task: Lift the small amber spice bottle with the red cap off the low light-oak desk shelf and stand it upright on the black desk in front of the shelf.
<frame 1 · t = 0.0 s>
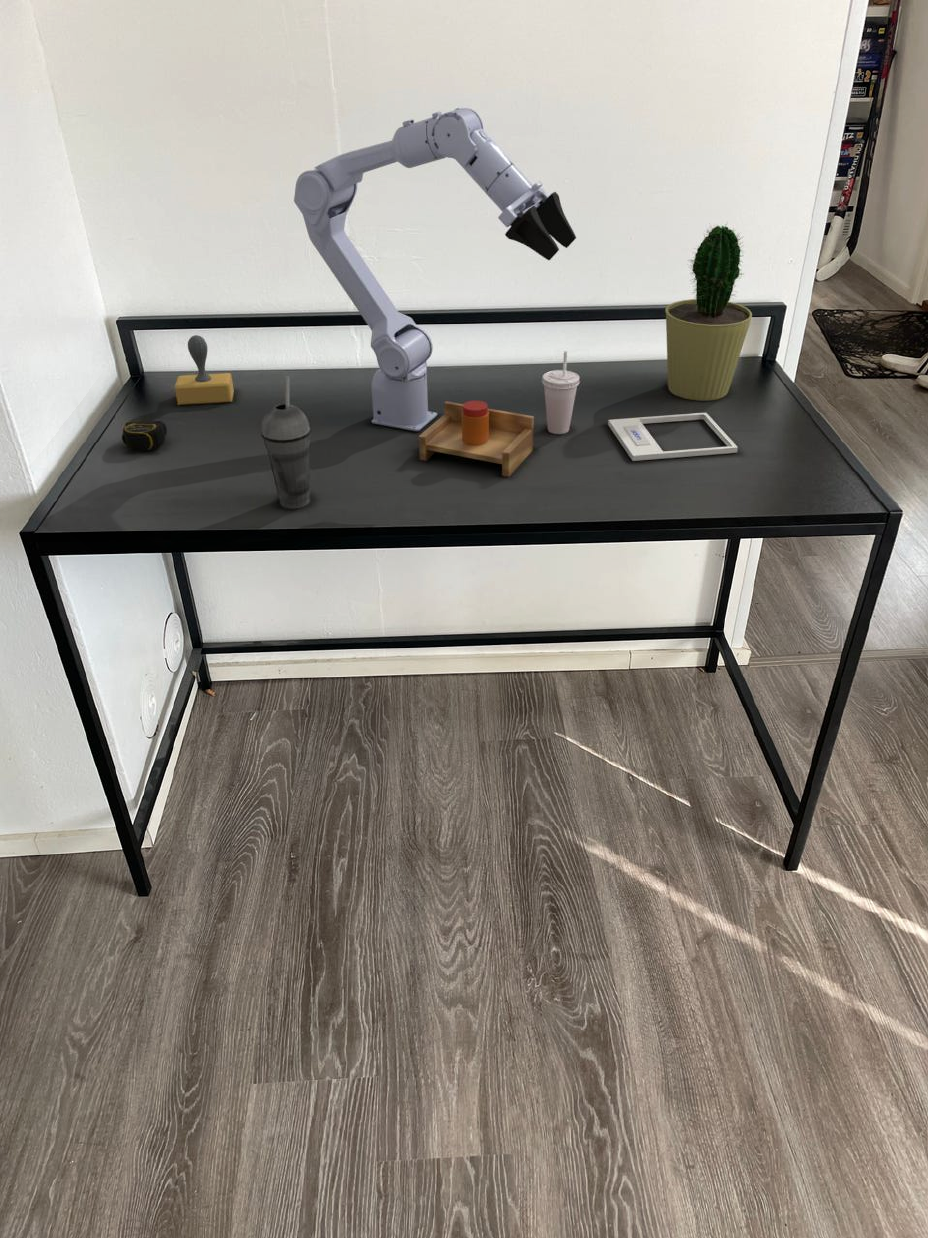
hand: (563, 248, 142), 32 cm above the table, tool tilted 50°, fingers open, 7 cm apart
potted cactus: (697, 389, 181), on the table
shelf: (476, 455, 158), on the table
photo frame: (670, 439, 162), on the table
rubber stamp: (206, 399, 179), on the table
beverage cup: (295, 502, 146), on the table
smoothie: (558, 430, 166), on the table
tape measure: (145, 445, 163), on the table
spice bottle: (475, 439, 156), point 3 cm above the table, touching shelf
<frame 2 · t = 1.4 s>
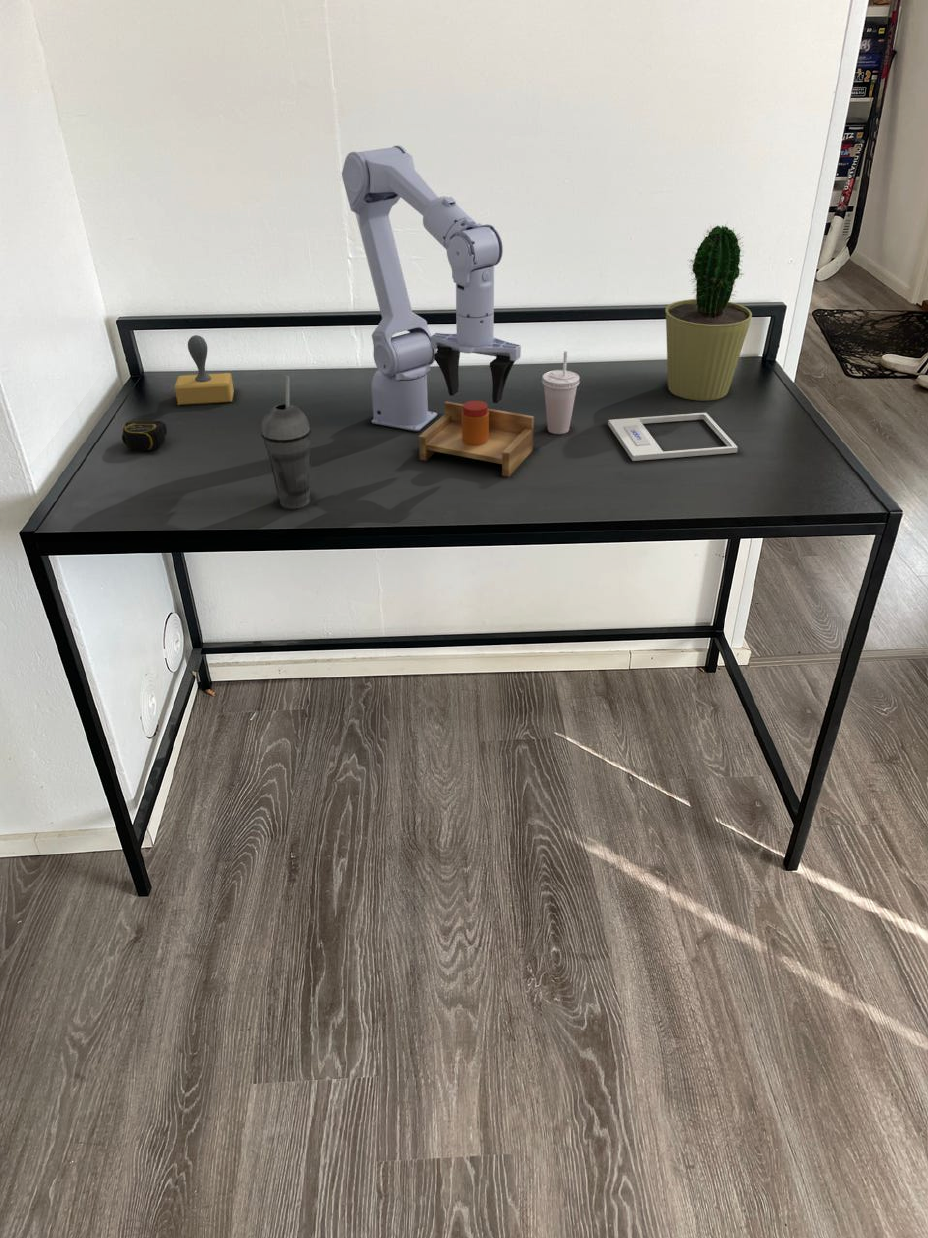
hand: (475, 397, 152), 10 cm above the table, tool pointing down, fingers open, 7 cm apart
nothing on the table moved.
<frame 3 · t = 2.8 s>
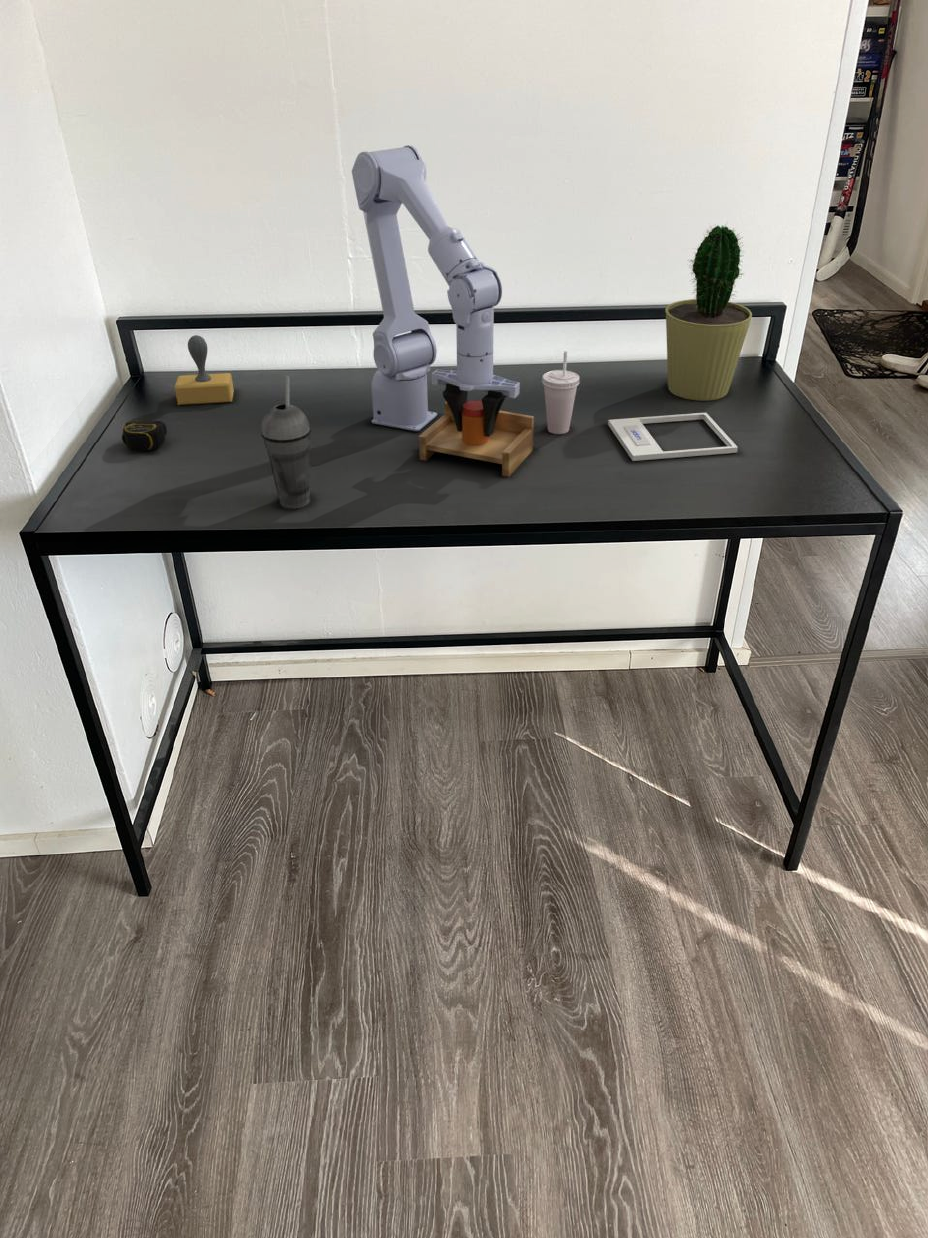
hand: (475, 431, 155), 4 cm above the table, tool pointing down, fingers closed on spice bottle, 4 cm apart
spice bottle: (475, 439, 156), point 3 cm above the table, touching gripper, shelf
everything else where it was.
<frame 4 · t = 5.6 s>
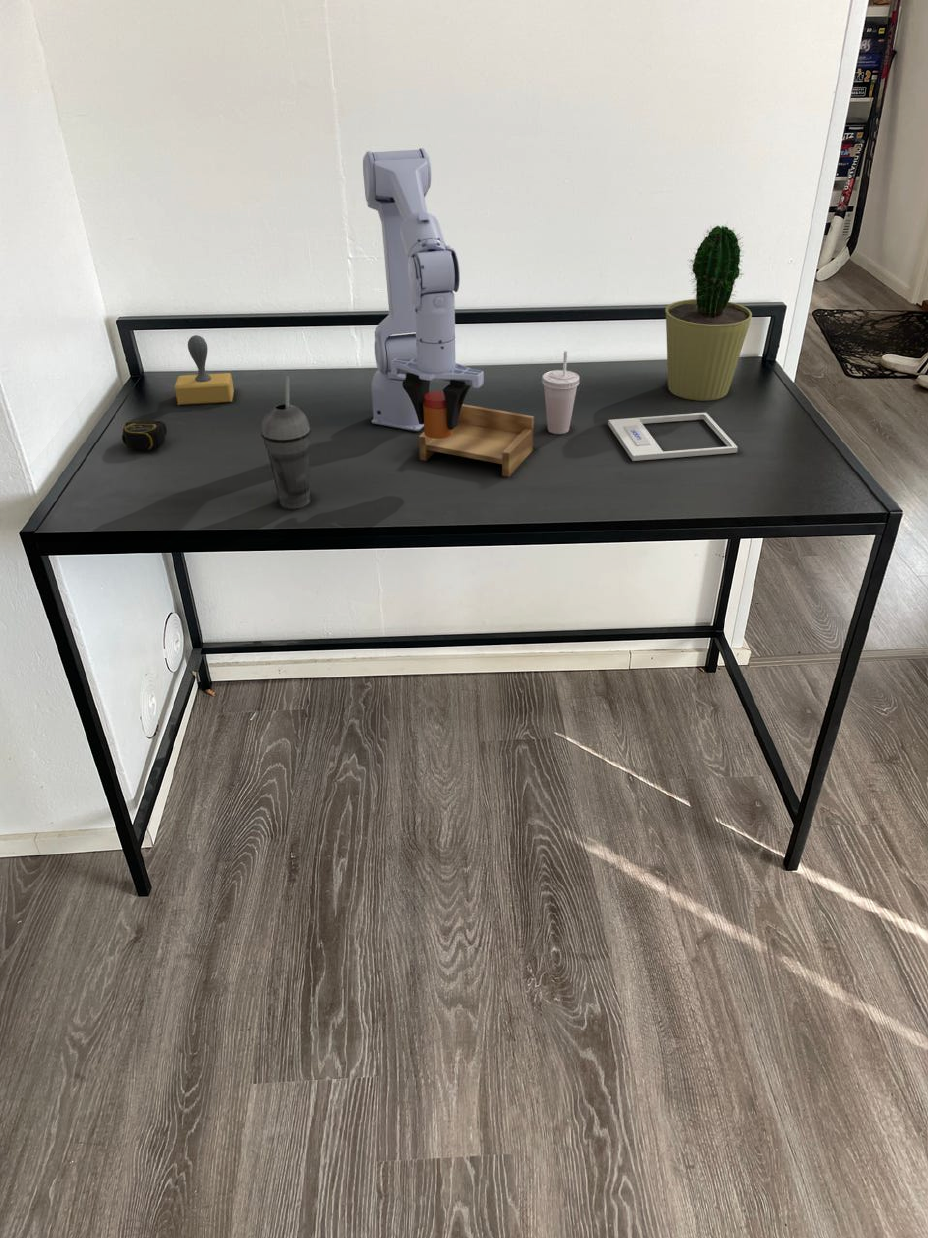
hand: (438, 424, 146), 9 cm above the table, tool pointing down, fingers closed on spice bottle, 4 cm apart
spice bottle: (438, 432, 146), point 8 cm above the table, touching gripper
everything else where it was.
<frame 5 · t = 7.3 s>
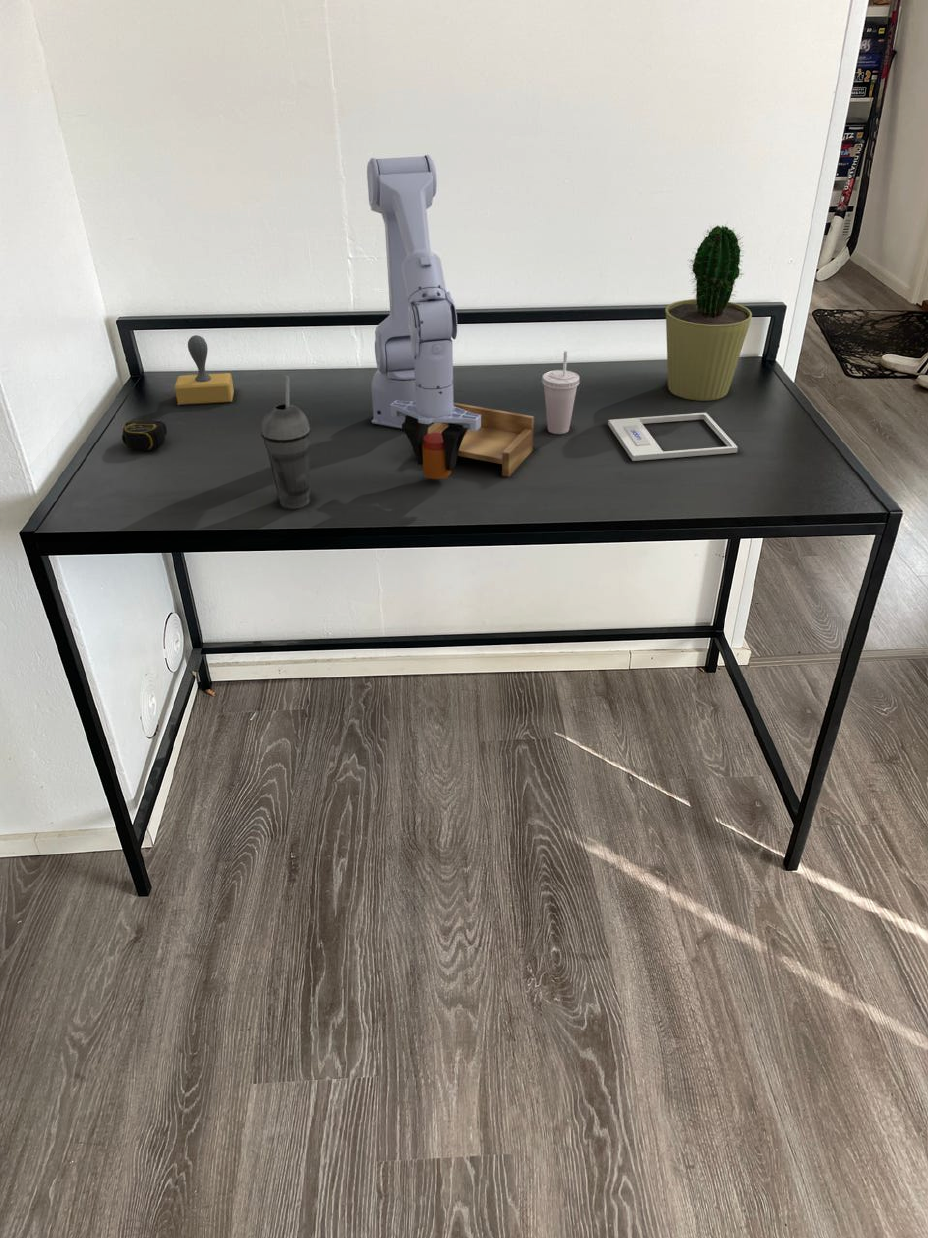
hand: (436, 464, 149), 3 cm above the table, tool pointing down, fingers closed on spice bottle, 4 cm apart
spice bottle: (437, 472, 150), point 1 cm above the table, touching gripper
everything else where it was.
when the fingers open (1 cm above the table, at t = 8.2 s): spice bottle stays where it is, on the table.
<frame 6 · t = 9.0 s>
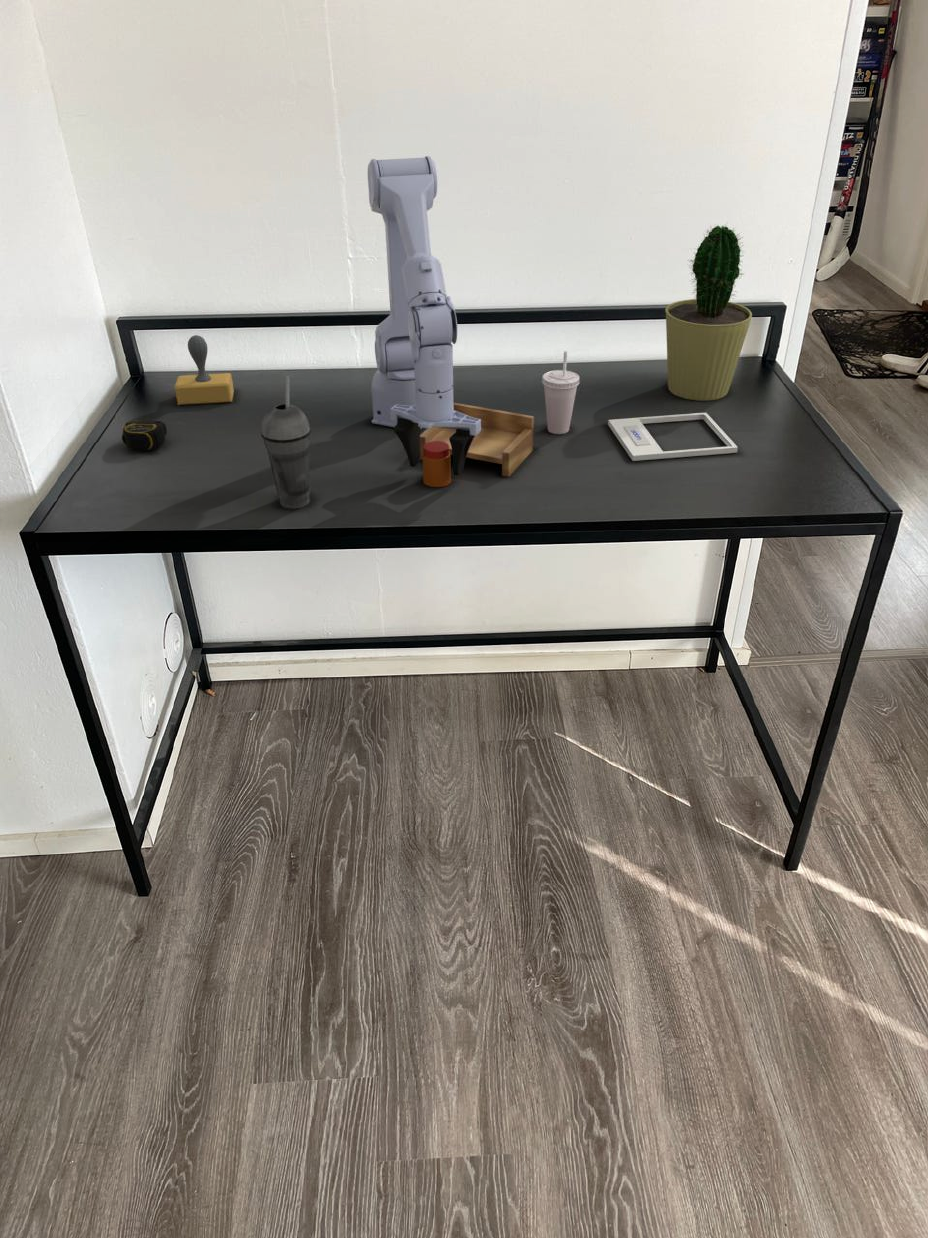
hand: (436, 468, 149), 2 cm above the table, tool pointing down, fingers open, 7 cm apart
spice bottle: (437, 480, 151), on the table
everything else where it was.
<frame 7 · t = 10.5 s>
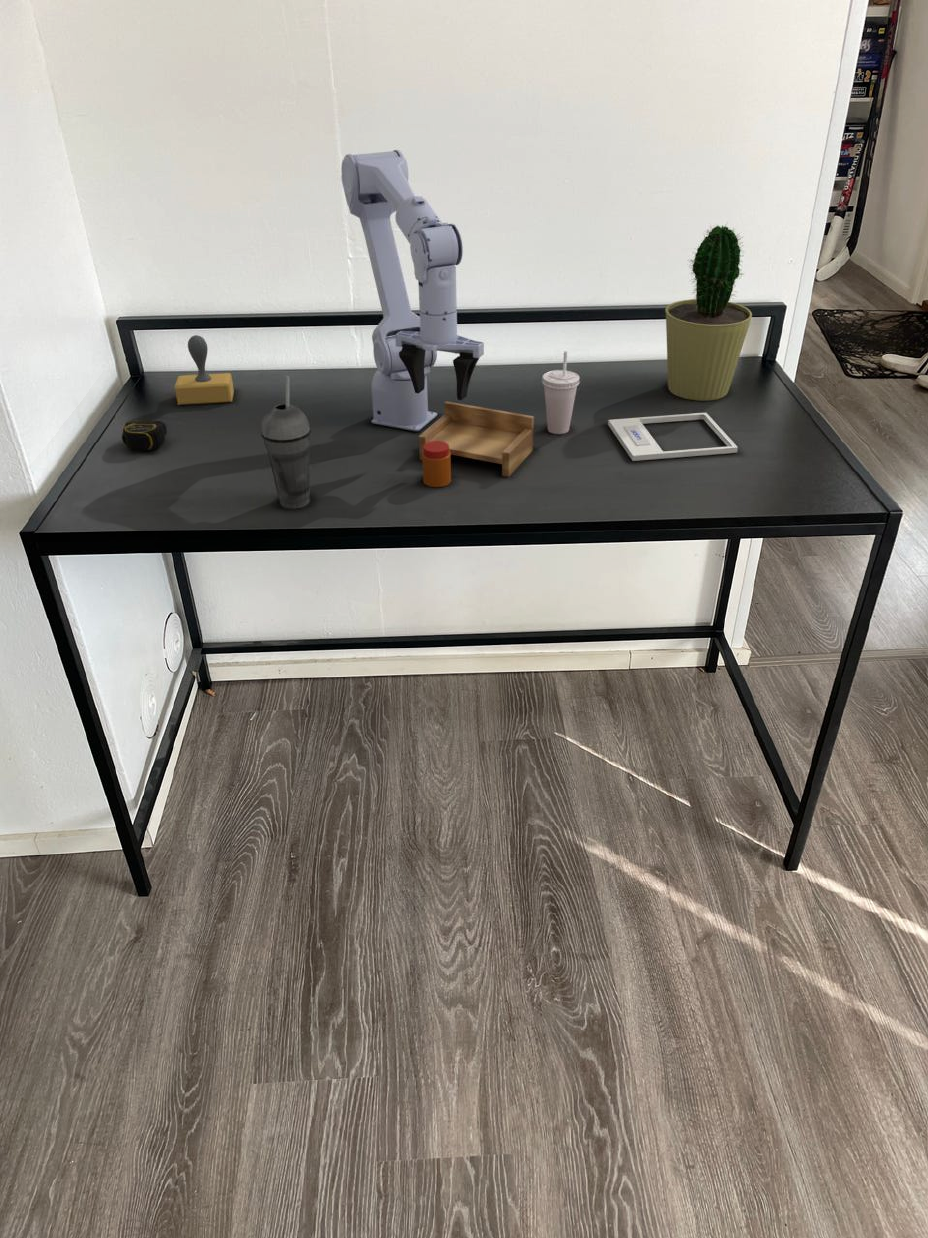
hand: (440, 394, 153), 10 cm above the table, tool pointing down, fingers open, 7 cm apart
nothing on the table moved.
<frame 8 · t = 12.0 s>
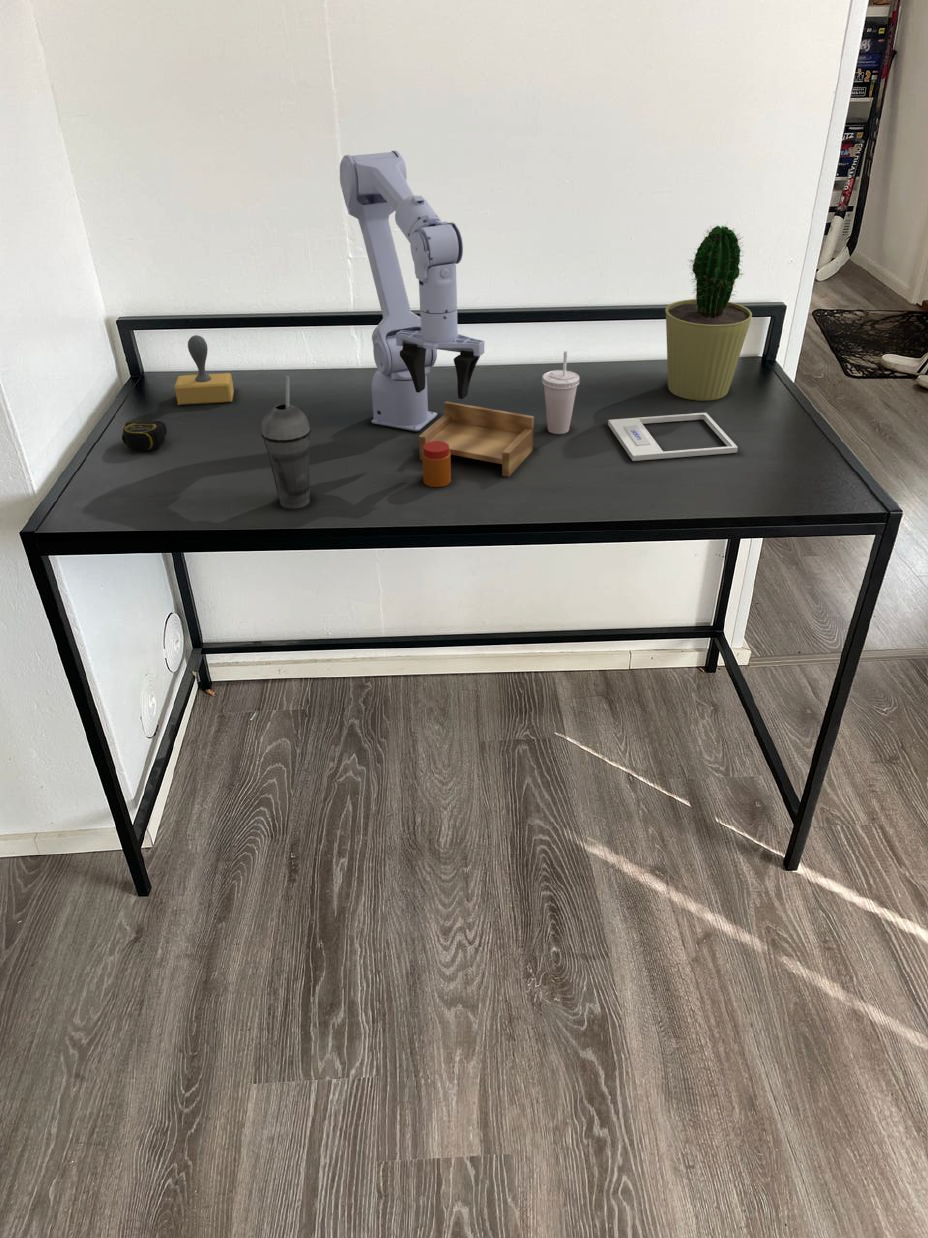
hand: (441, 393, 153), 10 cm above the table, tool pointing down, fingers open, 7 cm apart
nothing on the table moved.
at the end: spice bottle inside the target area (0.0 cm from its centre), on the table; spice bottle tilted 0°; spice bottle touching table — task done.
